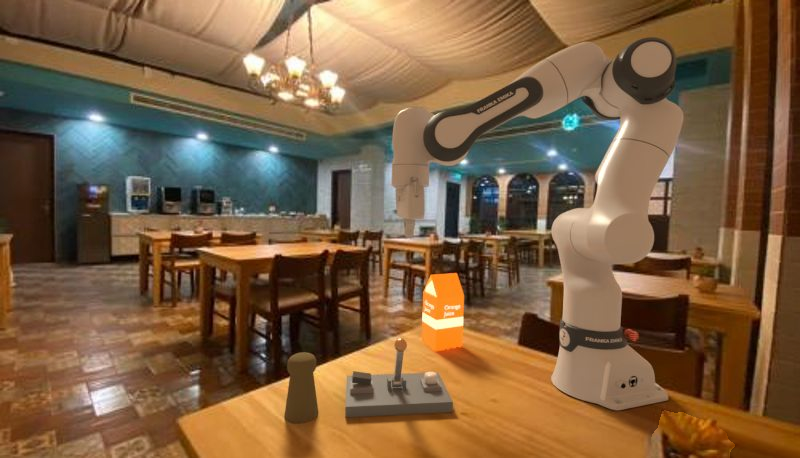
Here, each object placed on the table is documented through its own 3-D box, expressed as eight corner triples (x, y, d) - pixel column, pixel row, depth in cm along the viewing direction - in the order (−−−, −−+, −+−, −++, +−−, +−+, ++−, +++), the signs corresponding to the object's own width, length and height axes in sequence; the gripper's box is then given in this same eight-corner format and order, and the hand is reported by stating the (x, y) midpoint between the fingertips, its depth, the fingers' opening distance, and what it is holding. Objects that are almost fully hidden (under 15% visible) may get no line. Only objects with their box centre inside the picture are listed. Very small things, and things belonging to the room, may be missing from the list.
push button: (435, 378, 75) (435, 371, 75) (438, 384, 72) (438, 377, 72) (423, 378, 74) (423, 371, 74) (425, 384, 72) (425, 377, 72)
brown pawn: (309, 425, 63) (310, 364, 62) (277, 420, 64) (278, 360, 63) (323, 406, 69) (324, 350, 68) (294, 402, 70) (294, 347, 69)
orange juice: (421, 341, 103) (423, 272, 102) (447, 337, 107) (449, 270, 106) (435, 351, 96) (437, 277, 95) (462, 347, 100) (465, 275, 98)
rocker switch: (369, 379, 73) (370, 373, 73) (370, 385, 71) (371, 379, 71) (352, 376, 72) (353, 371, 72) (352, 382, 70) (353, 376, 70)
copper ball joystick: (401, 379, 74) (406, 335, 68) (402, 389, 72) (408, 345, 66) (389, 379, 74) (394, 335, 67) (390, 390, 72) (395, 345, 65)
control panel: (438, 381, 80) (438, 363, 80) (452, 412, 68) (453, 391, 68) (346, 384, 77) (346, 366, 77) (345, 417, 65) (345, 396, 65)
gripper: (432, 175, 75) (430, 241, 76) (416, 181, 95) (414, 234, 96) (402, 174, 74) (401, 241, 75) (392, 181, 95) (391, 233, 96)
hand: (408, 237), depth 86 cm, fingers closed
